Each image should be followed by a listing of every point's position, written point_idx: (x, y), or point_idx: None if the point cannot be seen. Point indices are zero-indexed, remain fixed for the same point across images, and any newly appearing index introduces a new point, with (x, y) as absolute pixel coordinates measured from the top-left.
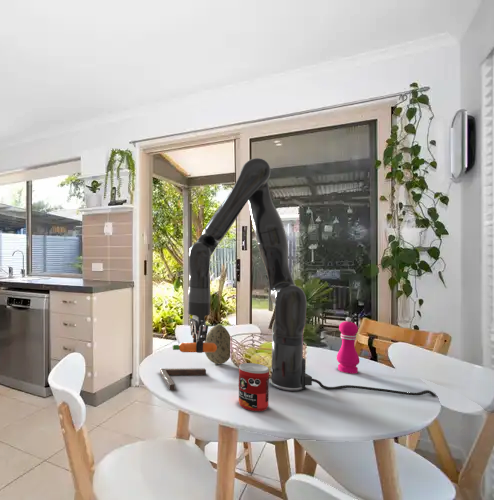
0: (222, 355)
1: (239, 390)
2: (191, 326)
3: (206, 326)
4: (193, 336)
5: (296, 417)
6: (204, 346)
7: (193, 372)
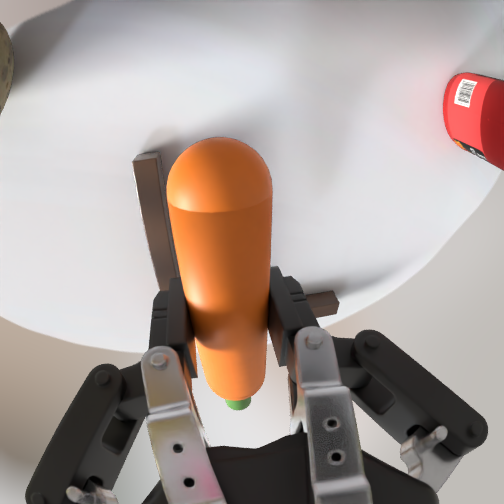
0: (5, 57)
1: (489, 162)
2: (118, 471)
3: (478, 435)
4: (193, 398)
5: (500, 59)
6: (269, 279)
7: (168, 217)
